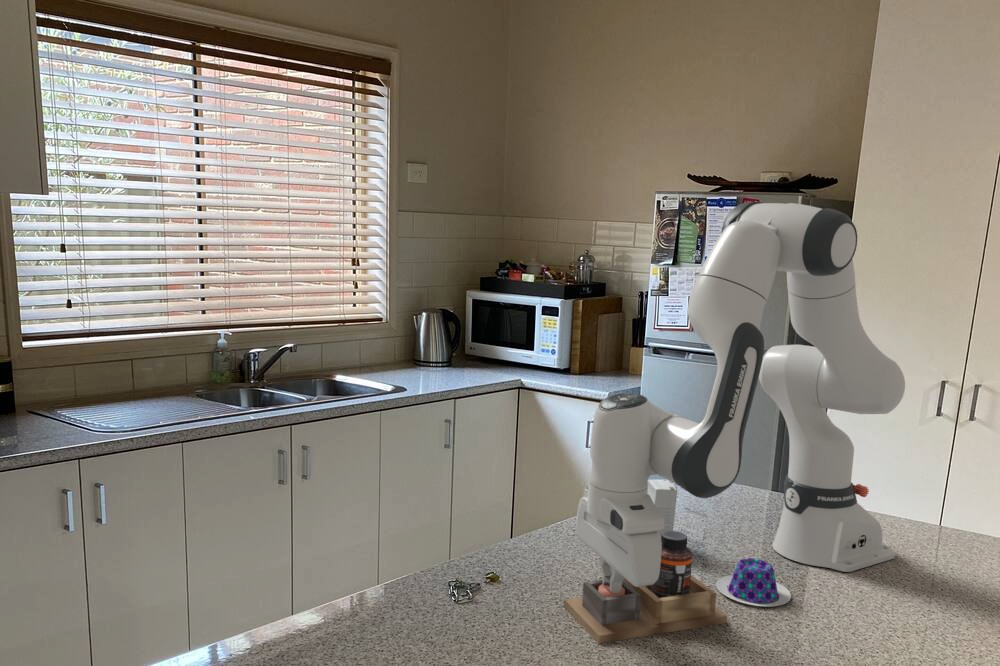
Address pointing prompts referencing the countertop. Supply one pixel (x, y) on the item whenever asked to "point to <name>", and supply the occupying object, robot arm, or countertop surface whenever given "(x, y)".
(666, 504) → the skincare box
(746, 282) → the robot arm
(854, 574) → the countertop surface
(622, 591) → the button
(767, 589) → the pudding
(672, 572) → the supplement bottle
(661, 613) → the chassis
